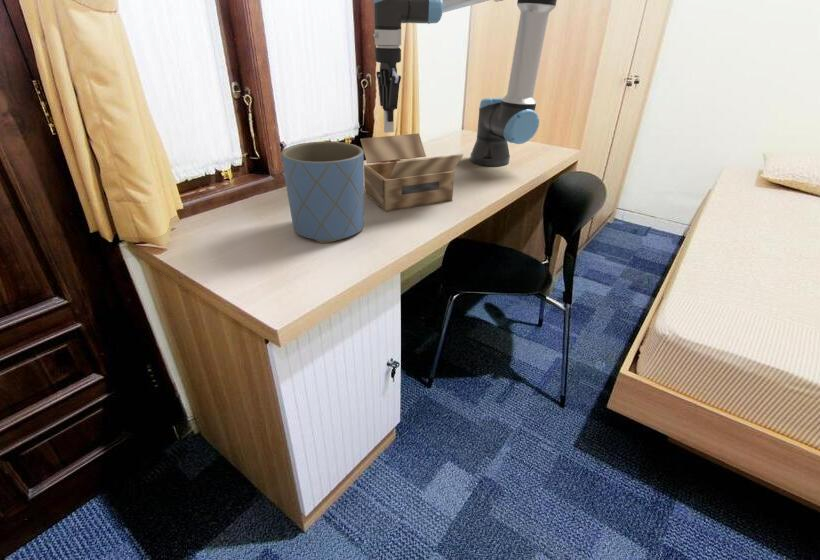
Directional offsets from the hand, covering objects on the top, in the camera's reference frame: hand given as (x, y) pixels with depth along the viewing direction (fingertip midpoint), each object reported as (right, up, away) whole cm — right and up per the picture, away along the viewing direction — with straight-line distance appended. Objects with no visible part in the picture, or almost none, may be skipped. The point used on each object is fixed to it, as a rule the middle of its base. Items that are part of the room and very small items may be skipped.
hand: (388, 131), depth 136 cm
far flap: (+2, -5, -1) cm, 6 cm away
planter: (-14, -34, -24) cm, 44 cm away
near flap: (+11, -15, -18) cm, 26 cm away
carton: (+6, -21, -3) cm, 22 cm away
